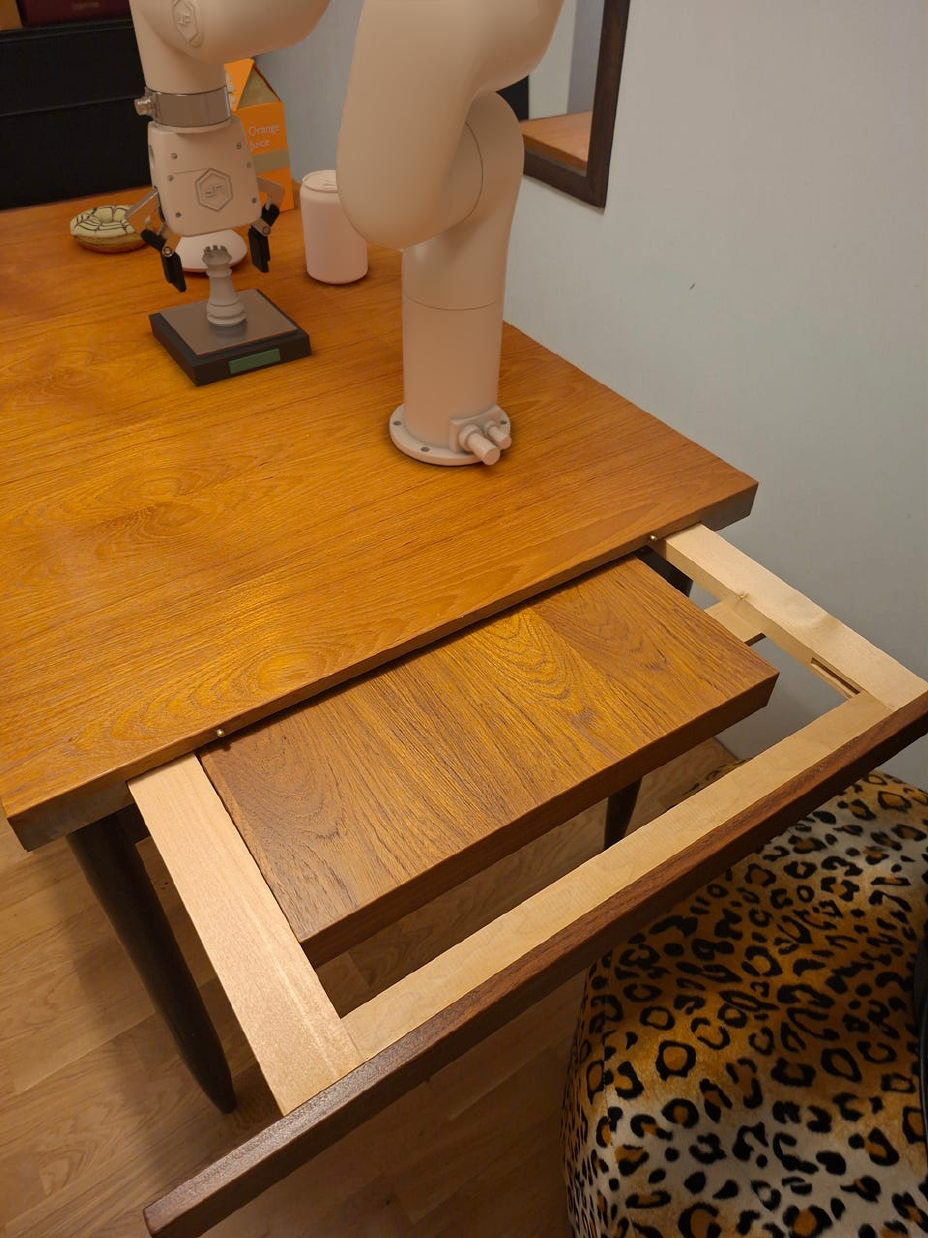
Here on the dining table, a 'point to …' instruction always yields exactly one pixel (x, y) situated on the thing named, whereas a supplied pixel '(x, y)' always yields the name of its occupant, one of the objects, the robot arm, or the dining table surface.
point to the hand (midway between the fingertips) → (220, 277)
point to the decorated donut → (106, 229)
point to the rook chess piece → (222, 289)
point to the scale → (232, 352)
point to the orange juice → (262, 126)
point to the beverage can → (329, 232)
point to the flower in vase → (194, 246)
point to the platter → (215, 339)
